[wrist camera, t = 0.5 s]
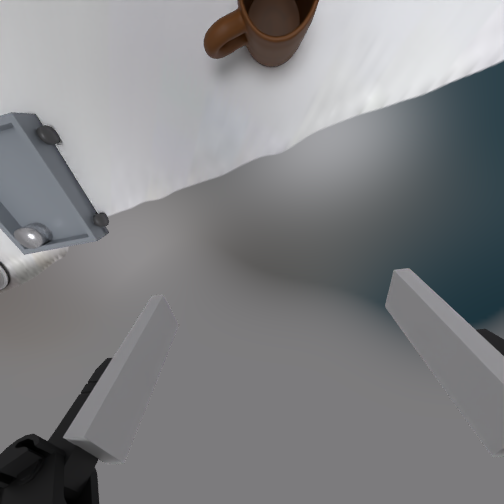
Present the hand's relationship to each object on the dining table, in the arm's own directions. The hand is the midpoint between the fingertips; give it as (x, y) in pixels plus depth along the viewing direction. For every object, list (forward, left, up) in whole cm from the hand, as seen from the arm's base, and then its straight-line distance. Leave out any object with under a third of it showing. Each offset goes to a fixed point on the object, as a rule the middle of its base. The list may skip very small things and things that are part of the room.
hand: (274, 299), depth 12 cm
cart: (-7, -40, -27) cm, 49 cm away
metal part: (0, -44, -26) cm, 51 cm away
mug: (-18, +2, -27) cm, 33 cm away
